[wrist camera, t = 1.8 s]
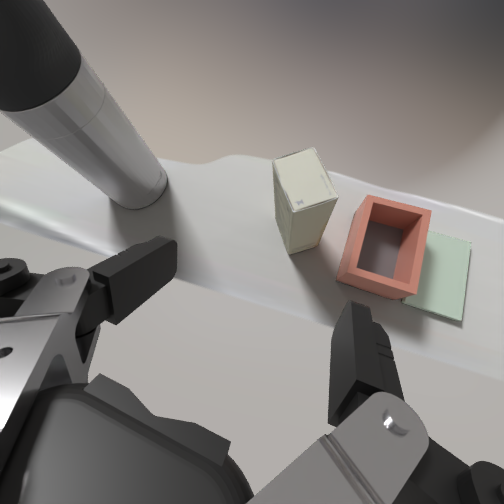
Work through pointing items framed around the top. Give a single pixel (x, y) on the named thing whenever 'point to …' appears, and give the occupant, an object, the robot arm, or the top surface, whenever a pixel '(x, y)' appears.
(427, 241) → the pad
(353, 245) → the bin
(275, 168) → the skincare box
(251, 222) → the top surface
